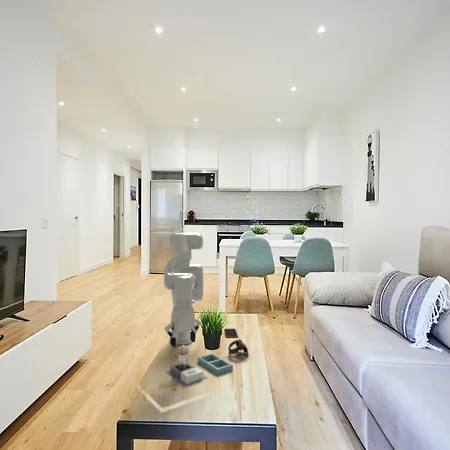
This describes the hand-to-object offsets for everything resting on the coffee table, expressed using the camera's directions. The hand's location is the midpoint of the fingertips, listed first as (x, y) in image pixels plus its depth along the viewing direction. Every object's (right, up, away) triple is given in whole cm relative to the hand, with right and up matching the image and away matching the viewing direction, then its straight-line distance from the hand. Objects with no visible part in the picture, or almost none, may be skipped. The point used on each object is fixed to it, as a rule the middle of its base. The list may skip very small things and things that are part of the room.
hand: (183, 343), depth 152 cm
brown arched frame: (+25, -14, +24) cm, 38 cm away
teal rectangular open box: (+14, -14, +8) cm, 21 cm away
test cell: (0, -13, +1) cm, 13 cm away
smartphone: (+22, -13, +55) cm, 61 cm away
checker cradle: (+2, -14, -1) cm, 14 cm away
